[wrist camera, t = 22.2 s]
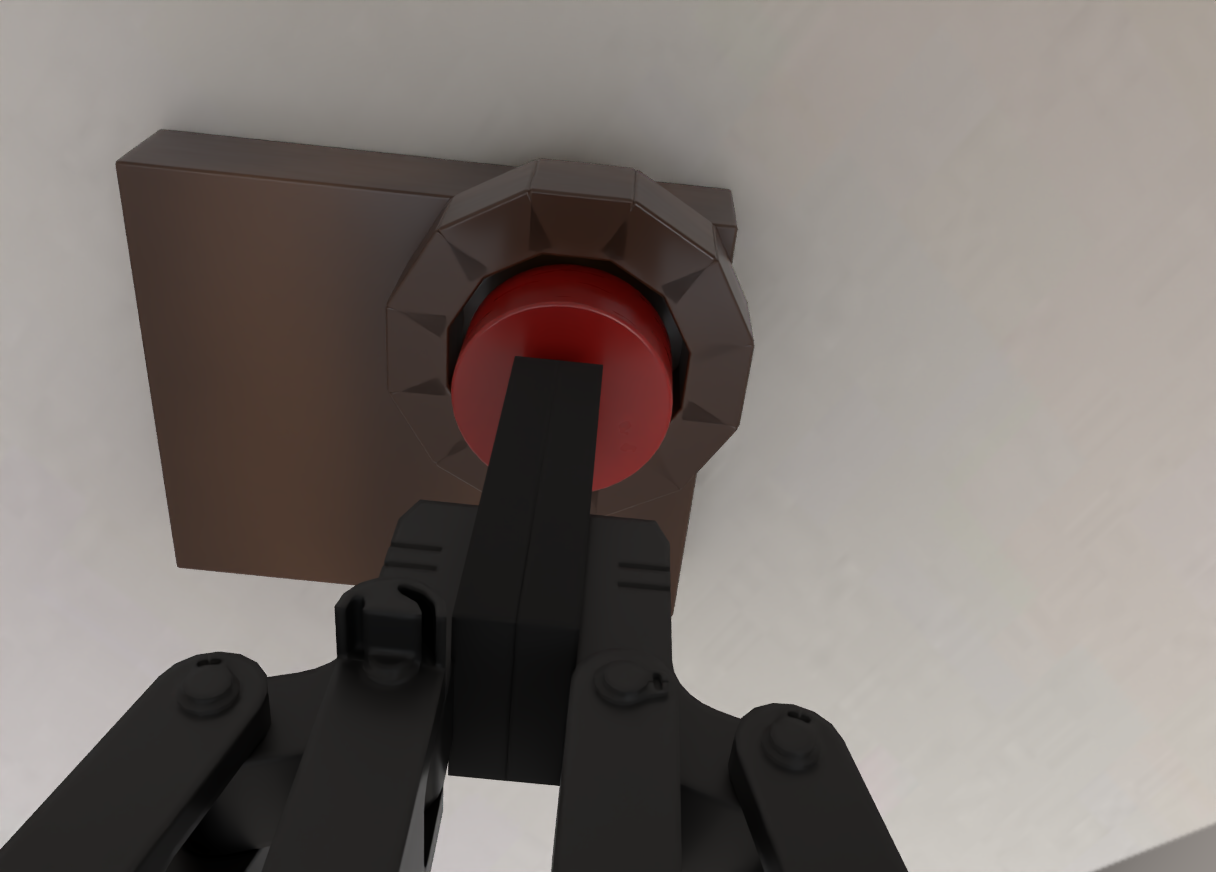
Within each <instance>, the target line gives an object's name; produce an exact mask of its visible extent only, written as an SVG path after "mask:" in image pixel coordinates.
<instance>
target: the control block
mask: <svg viewBox="0 0 1216 872" xmlns="http://www.w3.org/2000/svg"><path fill="white" fill-rule="evenodd" d="M116 171H117V177H118V184H119V190H120V197H121V203H122V210H123V216H124V223H125V229H126V236H127V243H128V249H129V256H130V262H131V269H132V275H133V282H134V288H135V295H136V301H137V308H138V314H139V321H140V328H141V334H142V341H143V347H144V354H145V360H146V367H147V373H148V380H149V386H150V393H151V399H152V406H153V413H154V419H155V426H156V432H157V439H158V445H159V452H160V458H161V465H162V471H163V478H164V484H165V491H166V498H167V504H168V511H169V517H170V524H171V530H172V537H173V543H174V550H175V556H176V563H177V567H179V568H186V569H196V570H206V571H216V572H226V573H236V574H246V575H256V576H266V577H276V578H287V579H297V580H307V581H317V582H327V583H337V584H347V585H357V584H359V583H361V582H365V581H368V580H371V579H375V578H378V577H379V574H380V572H381V569H382V566H384V560H385V557H386V554H387V551H388V548H389V547H390V544H391V540H392V537H393V534H394V531H395V528H396V525H397V522H398V519H399V518H400V517H401V516H402V515H403V514H404V513H405V512H407V511H408V510H409V509H410V508H411V507H412V506H413V505H414V504H415V503H416V502H418V501H419V500H430V501H440V502H450V503H461V504H471V505H479V502H480V498H481V494H482V490H483V486H484V482H485V477H486V473H487V469H488V466H487V465H486V464H485V463H484V462H482V461H481V460H480V459H479V457H478V456H477V455H476V454H475V453H474V452H473V451H472V450H471V448H470V447H469V445H468V444H467V442H466V441H465V439H464V437H463V436H462V434H461V432H460V430H459V428H458V425H457V422H456V420H455V417H454V413H453V408H452V402H451V385H452V377H453V373H454V369H455V365H456V362H457V359H458V356H459V354H460V351H461V348H462V345H463V342H464V339H465V336H466V333H467V330H468V327H469V325H470V322H471V320H472V318H473V315H474V314H475V312H476V310H477V309H478V307H479V305H480V304H481V303H482V302H483V300H484V299H485V298H486V297H487V296H488V294H490V293H491V292H492V291H493V290H494V289H495V288H496V287H497V286H499V285H500V284H501V283H503V282H504V281H506V280H507V279H509V278H511V277H513V276H515V275H517V274H519V273H521V272H524V271H527V270H530V269H533V268H536V267H541V266H546V265H556V264H574V265H582V266H588V267H592V268H596V269H599V270H602V271H605V272H607V273H610V274H612V275H614V276H617V277H618V278H620V279H622V280H624V281H625V282H627V283H629V284H630V285H631V286H633V287H634V288H635V289H636V290H638V291H639V292H640V293H641V294H642V295H643V296H644V297H645V298H646V299H647V300H648V301H649V302H650V303H651V304H652V306H653V307H654V308H655V310H656V311H657V312H658V314H659V316H660V318H661V320H662V321H663V323H664V325H665V328H666V331H667V333H668V336H669V340H670V345H671V352H672V380H673V407H672V416H671V420H670V425H669V428H668V430H667V433H666V436H665V438H664V440H663V441H662V443H661V445H660V447H659V448H658V450H657V451H656V452H655V454H654V455H653V456H652V457H651V459H650V460H649V461H648V462H647V463H646V464H645V465H643V466H642V467H641V468H640V469H639V470H638V471H636V472H635V473H634V474H632V475H631V476H629V477H628V478H626V479H624V480H622V481H621V482H619V483H616V484H614V485H612V486H609V487H607V488H603V489H600V490H596V491H592V497H591V508H590V514H594V515H604V516H614V517H624V518H634V519H644V520H654V521H656V522H657V524H658V525H659V527H660V528H661V530H662V532H663V533H664V535H665V536H666V538H667V540H668V541H669V543H670V580H671V588H670V592H671V616H672V615H673V613H674V607H675V601H676V595H677V589H678V583H679V577H680V571H681V565H682V559H683V553H684V547H685V541H686V535H687V529H688V523H689V517H690V511H691V505H692V499H693V493H694V487H695V481H696V475H697V472H698V471H699V470H700V469H701V468H702V467H703V466H704V465H705V464H706V463H707V461H708V460H709V459H710V458H711V457H712V456H713V455H714V454H715V453H716V452H717V451H718V450H719V449H720V447H721V446H722V445H723V444H724V443H725V442H726V441H727V440H728V439H729V438H730V437H731V436H732V435H733V433H734V432H735V431H736V430H737V429H738V427H739V425H740V420H741V415H742V410H743V404H744V399H745V394H746V388H747V383H748V378H749V372H750V367H751V362H752V356H753V351H754V339H753V333H752V326H751V320H750V314H749V308H748V302H747V300H746V298H745V295H744V293H743V290H742V288H741V286H740V283H739V281H738V279H737V276H736V274H735V272H734V269H733V267H732V260H733V255H734V249H735V243H736V237H737V231H738V227H737V221H736V215H735V210H734V204H733V198H732V192H731V190H729V189H719V188H710V187H700V186H691V185H682V184H672V183H663V182H655V181H653V180H652V179H650V178H649V177H648V176H646V175H645V174H643V173H642V172H641V171H638V170H635V169H634V168H628V167H618V166H609V165H599V164H590V163H581V162H571V161H562V160H552V159H543V158H541V159H539V160H533V161H530V162H528V163H526V164H524V165H521V166H519V167H512V166H502V165H493V164H483V163H474V162H464V161H455V160H445V159H436V158H427V157H417V156H408V155H398V154H389V153H379V152H370V151H360V150H351V149H342V148H332V147H323V146H313V145H304V144H294V143H285V142H275V141H266V140H256V139H247V138H238V137H228V136H219V135H209V134H200V133H190V132H181V131H171V130H162V129H161V130H158V131H157V132H156V133H154V134H153V135H152V136H150V137H149V138H147V139H146V140H145V141H143V142H142V143H140V144H139V145H138V146H136V147H135V148H134V149H132V150H131V151H129V152H128V153H127V154H125V155H124V156H122V157H121V158H120V159H118V160H117V161H116Z"/></svg>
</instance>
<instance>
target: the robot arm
mask: <svg viewBox="0 0 1216 872" xmlns="http://www.w3.org/2000/svg"><path fill="white" fill-rule="evenodd" d="M602 374H603V365H600V364H590V363H581V362H571V361H561V360H551V359H541V358H532V357H522V356H515V358H514V362H513V366H512V370H511V374H510V378H509V382H508V387H507V391H506V395H505V399H504V403H503V407H502V411H501V415H500V420H499V424H498V428H497V432H496V436H495V440H494V444H493V449H492V453H491V457H490V461H489V465H488V469H487V473H486V477H485V482H484V486H483V490H482V494H481V498H480V502H479V505H471V504H461V503H450V502H440V501H430V500H419V501H418V502H416V503H415V504H414V505H413V506H412V507H411V508H410V509H409V510H408V511H407V512H405V513H404V514H403V515H402V516H401V517H400V518H399V519H398V522H397V525H396V528H395V531H394V534H393V537H392V540H391V544H390V547H389V548H388V551H387V554H386V557H385V560H384V566H382V569H381V572H380V574H379V577H378V578H375V579H371V580H368V581H365V582H361V583H359V584H357V585H356V586H354V587H353V588H351V589H350V590H348V591H347V592H345V593H344V594H343V595H342V597H341V598H340V600H339V601H338V602H337V604H336V605H335V625H336V643H337V658H336V659H335V660H333V661H332V662H330V663H328V664H325V665H323V666H321V667H318V668H316V669H312V670H307V671H303V672H299V673H292V674H286V675H279V676H272V677H267V675H266V674H265V672H264V671H263V670H262V668H261V667H260V666H259V664H258V663H257V662H255V661H253V660H251V659H249V658H247V657H245V656H243V655H241V654H234V653H227V652H213V653H206V654H199V655H195V656H193V657H190V658H188V659H185V660H183V661H181V662H178V663H176V664H174V665H173V666H172V667H171V668H169V669H168V670H167V671H165V672H164V673H163V674H162V675H160V676H159V677H158V678H157V679H156V680H155V681H154V682H153V684H152V685H151V686H150V687H149V688H148V689H147V690H146V691H145V692H144V693H143V694H142V696H141V697H140V698H139V699H138V700H137V701H136V702H135V703H134V704H133V705H132V706H131V708H130V709H129V710H128V711H127V712H126V713H125V714H124V715H123V716H122V717H121V718H120V720H119V721H118V722H117V723H116V724H115V725H114V726H113V727H112V728H111V729H110V730H109V732H108V733H107V734H106V735H105V736H104V737H103V738H102V739H101V740H100V741H99V742H98V744H97V745H96V746H95V747H94V748H93V749H92V750H91V751H90V752H89V753H88V754H87V756H86V757H85V758H84V759H83V760H82V761H81V762H80V763H79V764H78V765H77V766H76V768H75V769H74V770H73V771H72V772H71V773H70V774H69V775H68V776H67V777H66V778H65V780H64V781H63V782H62V783H61V784H60V785H59V786H58V787H57V788H56V789H55V790H54V792H53V793H52V794H51V795H50V796H49V797H48V798H47V799H46V800H45V801H44V802H43V804H42V805H41V806H40V807H39V808H38V809H37V810H36V811H35V812H34V813H33V814H32V816H31V817H30V818H29V819H28V820H27V821H26V822H25V823H24V824H23V825H22V826H21V828H20V829H19V830H18V831H17V832H16V833H15V834H14V835H13V836H12V837H11V838H10V839H9V841H8V842H7V843H6V844H5V845H4V846H3V847H2V848H1V849H0V872H431V867H432V862H433V857H434V852H435V847H436V842H437V837H438V832H439V827H440V823H441V818H442V813H443V784H444V779H445V774H446V769H447V765H448V775H451V776H461V777H472V778H483V779H493V780H504V781H514V782H525V783H535V784H546V785H556V786H560V789H559V799H558V809H557V818H556V828H555V837H554V847H553V856H552V869H551V872H908V870H907V868H906V866H905V864H904V862H903V860H902V858H901V856H900V854H899V852H898V850H897V848H896V846H895V844H894V842H893V840H892V838H891V836H890V834H889V832H888V830H887V828H886V825H885V823H884V821H883V819H882V817H881V815H880V813H879V811H878V809H877V807H876V805H875V803H874V801H873V799H872V797H871V795H870V793H869V791H868V789H867V787H866V785H865V783H864V781H863V779H862V777H861V774H860V772H859V770H858V768H857V766H856V764H855V762H854V760H853V758H852V756H851V754H850V752H849V750H848V748H847V746H846V744H845V742H844V740H843V739H842V737H841V736H840V735H839V733H838V732H837V731H836V729H835V728H834V727H833V725H832V724H831V723H829V722H828V721H827V720H825V719H824V718H822V717H821V716H819V715H818V714H817V713H815V712H813V711H811V710H808V709H805V708H802V707H799V706H797V705H794V704H779V703H771V704H768V705H764V706H760V707H756V708H754V709H752V710H751V711H750V712H749V713H747V714H746V715H745V716H743V717H742V718H741V719H740V718H737V717H734V716H731V715H729V714H726V713H723V712H720V711H718V710H716V709H713V708H711V707H709V706H707V705H705V704H703V703H701V702H700V701H699V700H697V699H696V698H694V697H693V696H692V695H690V694H689V693H688V692H687V690H686V689H685V688H684V687H683V686H682V685H681V684H680V682H679V680H678V678H677V677H676V675H675V673H674V669H673V664H672V638H671V592H670V588H671V580H670V543H669V541H668V540H667V538H666V536H665V535H664V533H663V532H662V530H661V528H660V527H659V525H658V524H657V522H656V521H654V520H644V519H634V518H624V517H614V516H604V515H594V514H590V508H591V497H592V486H593V474H594V463H595V452H596V441H597V430H598V419H599V407H600V396H601V385H602Z"/></svg>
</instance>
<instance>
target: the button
mask: <svg viewBox="0 0 1216 872" xmlns="http://www.w3.org/2000/svg"><path fill="white" fill-rule="evenodd" d="M515 356H522V357H532V358H541V359H551V360H561V361H571V362H581V363H590V364H600V365H603V374H602V385H601V396H600V407H599V419H598V430H597V441H596V452H595V463H594V474H593V486H592V491H596V490H600V489H603V488H607V487H609V486H612V485H614V484H616V483H619V482H621V481H622V480H624V479H626V478H628V477H629V476H631V475H632V474H634V473H635V472H636V471H638V470H639V469H640V468H641V467H642V466H643V465H645V464H646V463H647V462H648V461H649V460H650V459H651V457H652V456H653V455H654V454H655V452H656V451H657V450H658V448H659V447H660V445H661V443H662V441H663V440H664V438H665V436H666V433H667V430H668V428H669V425H670V420H671V416H672V407H673V380H672V352H671V345H670V340H669V336H668V333H667V331H666V328H665V325H664V323H663V321H662V320H661V318H660V316H659V314H658V312H657V311H656V310H655V308H654V307H653V306H652V304H651V303H650V302H649V301H648V300H647V299H646V298H645V297H644V296H643V295H642V294H641V293H640V292H639V291H638V290H636V289H635V288H634V287H633V286H631V285H630V284H629V283H627V282H625V281H624V280H622V279H620V278H618V277H617V276H614V275H612V274H610V273H607V272H605V271H602V270H599V269H596V268H592V267H588V266H582V265H574V264H556V265H546V266H541V267H536V268H533V269H530V270H527V271H524V272H521V273H519V274H517V275H515V276H513V277H511V278H509V279H507V280H506V281H504V282H503V283H501V284H500V285H499V286H497V287H496V288H495V289H494V290H493V291H492V292H491V293H490V294H488V296H487V297H486V298H485V299H484V300H483V302H482V303H481V304H480V305H479V307H478V309H477V310H476V312H475V314H474V315H473V318H472V320H471V322H470V325H469V327H468V330H467V333H466V336H465V339H464V342H463V345H462V348H461V351H460V354H459V356H458V359H457V362H456V365H455V369H454V373H453V377H452V385H451V402H452V408H453V413H454V417H455V420H456V422H457V425H458V428H459V430H460V432H461V434H462V436H463V437H464V439H465V441H466V442H467V444H468V445H469V447H470V448H471V450H472V451H473V452H474V453H475V454H476V455H477V456H478V457H479V459H480V460H481V461H482V462H484V463H485V464H486V465H487V466H488V465H489V461H490V457H491V453H492V449H493V444H494V440H495V436H496V432H497V428H498V424H499V420H500V415H501V411H502V407H503V403H504V399H505V395H506V391H507V387H508V382H509V378H510V374H511V370H512V366H513V362H514V358H515Z"/></svg>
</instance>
